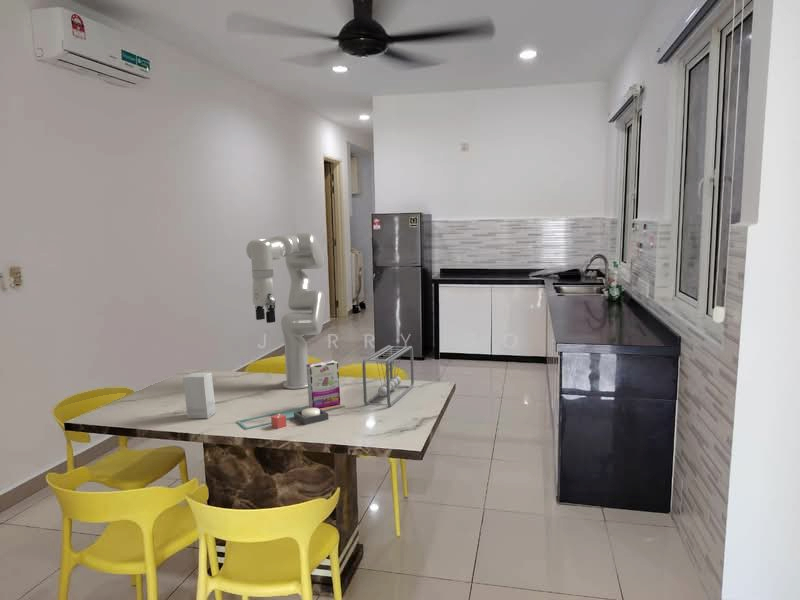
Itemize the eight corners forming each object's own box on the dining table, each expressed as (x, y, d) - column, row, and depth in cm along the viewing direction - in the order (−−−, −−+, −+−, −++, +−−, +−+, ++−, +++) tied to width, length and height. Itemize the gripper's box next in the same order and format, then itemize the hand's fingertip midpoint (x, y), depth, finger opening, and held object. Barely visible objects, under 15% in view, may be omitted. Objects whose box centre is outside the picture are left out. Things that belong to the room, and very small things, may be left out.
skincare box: (216, 413, 208) (213, 372, 206) (207, 419, 201) (204, 376, 199) (195, 412, 209) (192, 371, 207) (185, 418, 202) (182, 376, 201)
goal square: (305, 407, 211) (305, 406, 211) (334, 401, 218) (334, 400, 218) (315, 412, 204) (315, 411, 204) (344, 406, 211) (344, 405, 211)
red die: (271, 426, 191) (270, 415, 191) (279, 423, 194) (279, 412, 193) (278, 428, 189) (277, 417, 188) (286, 425, 192) (285, 414, 191)
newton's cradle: (389, 408, 207) (388, 361, 205) (363, 406, 211) (361, 360, 209) (414, 386, 235) (413, 344, 233) (390, 385, 239) (389, 344, 237)
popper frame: (294, 418, 199) (293, 412, 199) (317, 413, 204) (316, 407, 204) (304, 424, 192) (304, 418, 192) (328, 419, 197) (328, 413, 197)
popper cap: (298, 416, 199) (298, 410, 199) (315, 413, 202) (314, 406, 202) (306, 421, 194) (306, 414, 193) (323, 417, 197) (323, 411, 197)
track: (236, 422, 197) (236, 421, 197) (333, 400, 218) (333, 399, 218) (245, 429, 189) (245, 428, 189) (345, 406, 210) (345, 405, 210)
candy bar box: (335, 401, 216) (333, 359, 214) (340, 404, 212) (338, 362, 210) (307, 406, 211) (305, 363, 209) (312, 410, 207) (310, 366, 205)
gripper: (244, 274, 211) (247, 319, 213) (262, 276, 197) (265, 324, 199) (263, 273, 215) (266, 317, 217) (282, 275, 201) (284, 322, 203)
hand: (265, 320), depth 208 cm, fingers open, 9 cm apart
